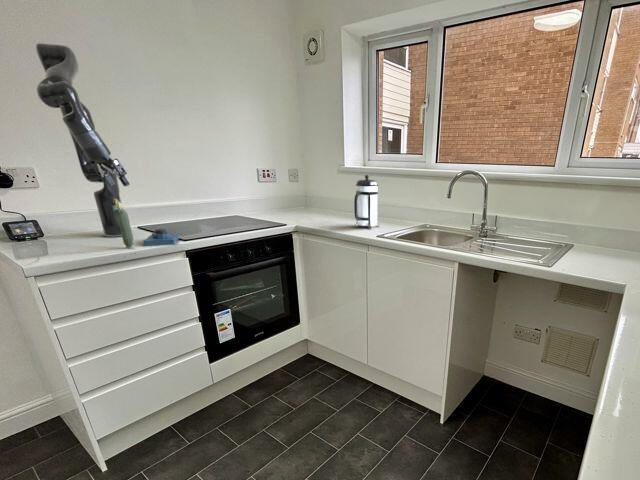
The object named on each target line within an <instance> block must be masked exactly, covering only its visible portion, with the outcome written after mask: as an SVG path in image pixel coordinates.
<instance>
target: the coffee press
mask: <svg viewBox="0 0 640 480" xmlns="http://www.w3.org/2000/svg"><path fill="white" fill-rule="evenodd" d="M369 178H370V176H369V174H365V175H364V179H359V180H357V181H356V183H355V186H356V190H355V195H354V201H353V203H354V206H353V207H354V208H353V209H354V218H355V220H356V222H355V224H354V227H355V228H358V227H359V226H360V227H367V229H368V230H371V229H372V227H374V226H376V227H377V228H379V227H380V225H379V223H378V193H379V192H378V186H379V184H378V182H377V180H375V179H369Z"/></svg>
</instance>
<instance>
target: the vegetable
mask: <svg viewBox="0 0 640 480" xmlns="http://www.w3.org/2000/svg"><path fill="white" fill-rule="evenodd" d="M114 202H115V205H116V208H117V209H116V210H115V211H114V217H115V220H116V222H117V224H118V226H119V228H120V231H121V234H122V236H121V238H122V242H123V245H124V246H125V247H126V249H131V248H132V247H133V245H134V234H133V232H132V228H131V227H132V226H131V223H130V219H129V215H128V212H127V211H126V210H125V209H124V208H123V209H122V207H123V204H122V205H121V203H122V202H121V203H120V202H119V201H118V200H116V199H113V203H114Z"/></svg>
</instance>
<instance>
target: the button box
mask: <svg viewBox="0 0 640 480" xmlns="http://www.w3.org/2000/svg"><path fill="white" fill-rule="evenodd" d="M179 239H180V235H179V233H172V232H170V231H166V234H156V232H155V231H154V232H152V233H151V234H150V235H149V236H147V237H146V238H145V239H144V240H143V243H144V247H150V246H174V245H176V244H177V242H178V241H179Z"/></svg>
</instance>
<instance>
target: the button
mask: <svg viewBox="0 0 640 480" xmlns="http://www.w3.org/2000/svg"><path fill="white" fill-rule="evenodd" d="M155 232H156V234H166V232H167V229H166V228H156V229H154V233H155Z"/></svg>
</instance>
